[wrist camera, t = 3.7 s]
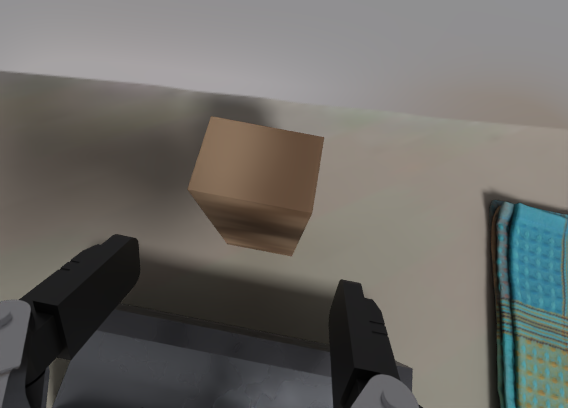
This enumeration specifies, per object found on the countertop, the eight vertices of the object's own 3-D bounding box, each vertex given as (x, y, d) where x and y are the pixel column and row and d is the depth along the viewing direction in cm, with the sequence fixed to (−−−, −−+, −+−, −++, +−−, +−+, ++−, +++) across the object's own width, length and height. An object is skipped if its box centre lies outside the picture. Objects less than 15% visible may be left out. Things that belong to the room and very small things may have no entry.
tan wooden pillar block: (227, 243, 22) (187, 189, 11) (237, 201, 23) (210, 116, 12) (291, 256, 21) (312, 213, 11) (299, 213, 23) (324, 137, 12)
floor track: (54, 427, 17) (-7, 461, 13) (102, 299, 20) (63, 299, 16) (376, 493, 17) (407, 548, 13) (384, 355, 19) (412, 368, 16)
